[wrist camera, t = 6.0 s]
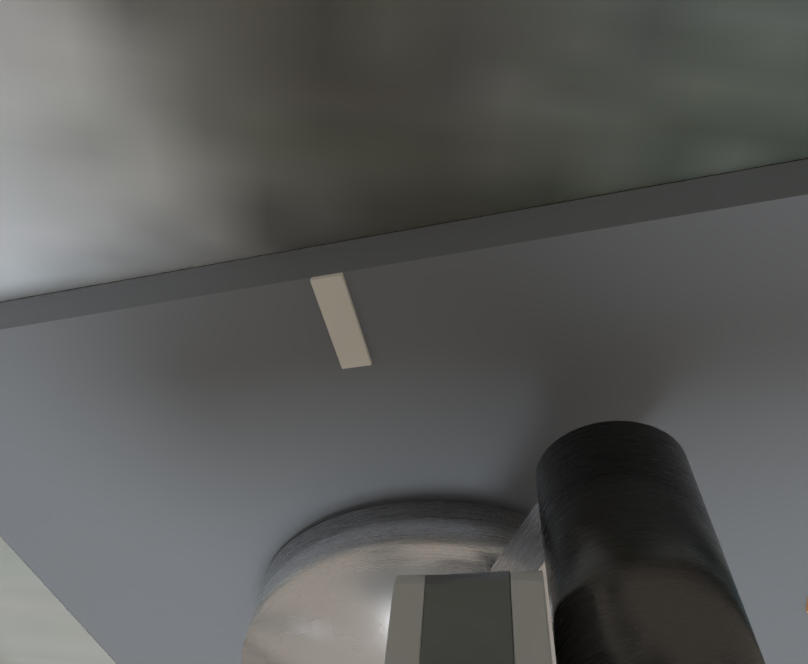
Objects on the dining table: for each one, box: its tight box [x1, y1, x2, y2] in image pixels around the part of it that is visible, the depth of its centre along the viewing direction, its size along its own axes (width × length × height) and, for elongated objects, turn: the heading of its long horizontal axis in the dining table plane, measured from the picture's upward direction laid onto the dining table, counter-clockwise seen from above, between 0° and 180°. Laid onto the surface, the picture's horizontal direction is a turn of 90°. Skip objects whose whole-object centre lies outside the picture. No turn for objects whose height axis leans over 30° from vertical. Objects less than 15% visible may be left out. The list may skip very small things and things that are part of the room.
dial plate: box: [0, 159, 808, 664], centre depth 21 cm, size 26×26×2 cm
